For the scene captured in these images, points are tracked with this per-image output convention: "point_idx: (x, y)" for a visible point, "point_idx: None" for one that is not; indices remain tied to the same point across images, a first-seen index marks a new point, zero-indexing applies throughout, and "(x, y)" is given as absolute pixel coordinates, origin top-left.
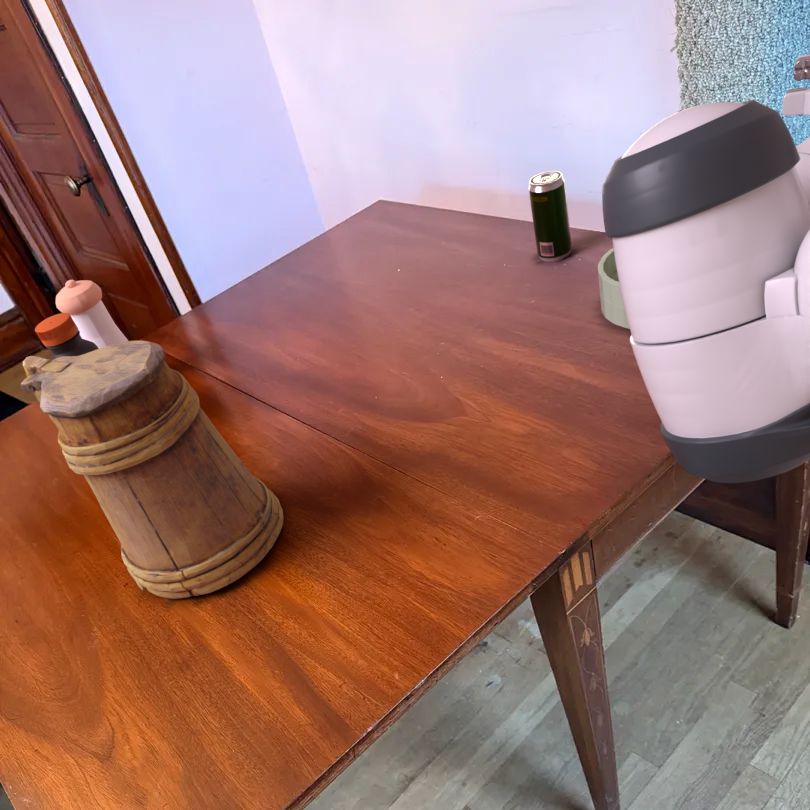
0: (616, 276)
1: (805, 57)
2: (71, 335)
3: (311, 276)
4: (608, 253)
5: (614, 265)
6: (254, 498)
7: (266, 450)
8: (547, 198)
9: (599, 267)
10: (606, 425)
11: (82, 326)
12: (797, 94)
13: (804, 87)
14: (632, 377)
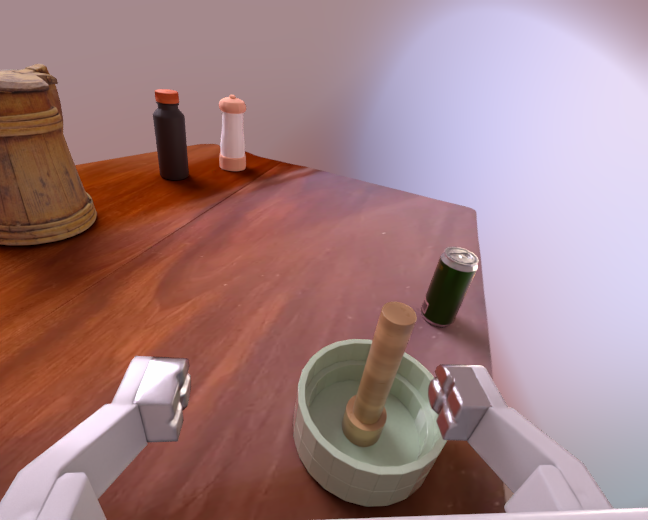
0: None
1: (468, 380)
2: (163, 102)
3: (366, 199)
4: None
5: None
6: (22, 214)
7: (146, 222)
8: (442, 269)
9: (345, 341)
10: None
11: (222, 118)
12: (123, 384)
13: (169, 396)
14: (199, 434)
